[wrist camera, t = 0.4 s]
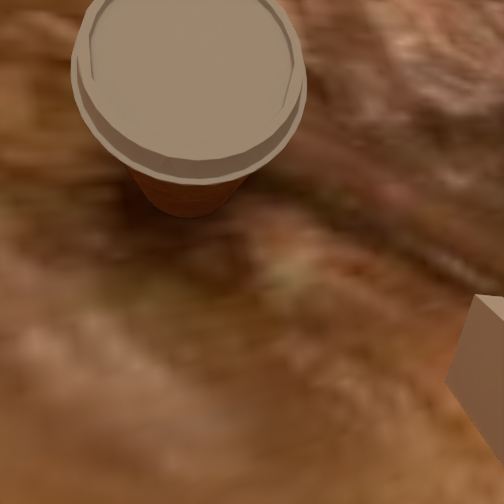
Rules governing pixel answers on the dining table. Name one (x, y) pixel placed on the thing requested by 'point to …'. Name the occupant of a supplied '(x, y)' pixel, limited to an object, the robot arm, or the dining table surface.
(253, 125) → the disposable coffee cup
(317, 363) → the dining table surface
